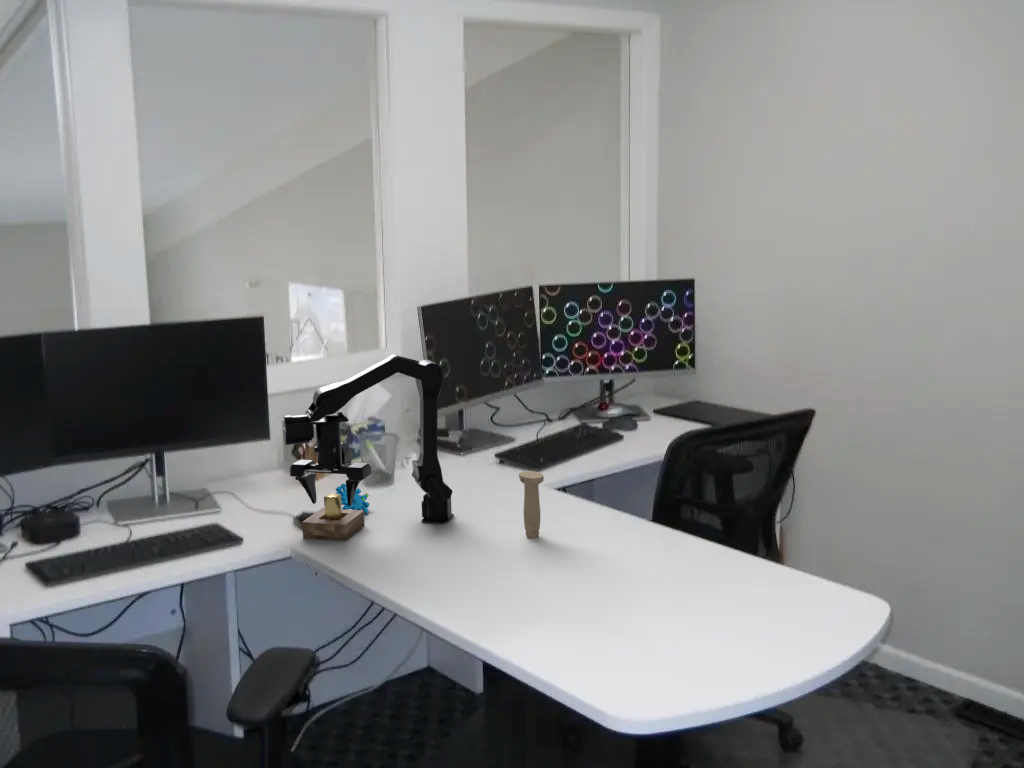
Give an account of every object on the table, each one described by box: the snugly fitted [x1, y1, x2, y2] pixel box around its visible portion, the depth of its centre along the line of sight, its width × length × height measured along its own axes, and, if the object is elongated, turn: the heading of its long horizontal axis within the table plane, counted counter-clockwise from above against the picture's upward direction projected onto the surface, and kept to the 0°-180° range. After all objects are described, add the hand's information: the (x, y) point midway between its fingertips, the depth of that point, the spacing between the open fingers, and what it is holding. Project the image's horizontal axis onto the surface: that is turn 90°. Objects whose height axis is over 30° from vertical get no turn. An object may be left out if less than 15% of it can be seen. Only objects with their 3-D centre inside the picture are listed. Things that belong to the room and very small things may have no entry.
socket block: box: [301, 507, 365, 542], centre depth 240 cm, size 11×11×4 cm
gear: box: [335, 483, 370, 515], centre depth 254 cm, size 11×6×10 cm
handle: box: [518, 470, 544, 539], centre depth 233 cm, size 5×6×15 cm
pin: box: [323, 493, 343, 521], centre depth 239 cm, size 4×4×8 cm
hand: (332, 504), depth 239 cm, fingers open, 9 cm apart
